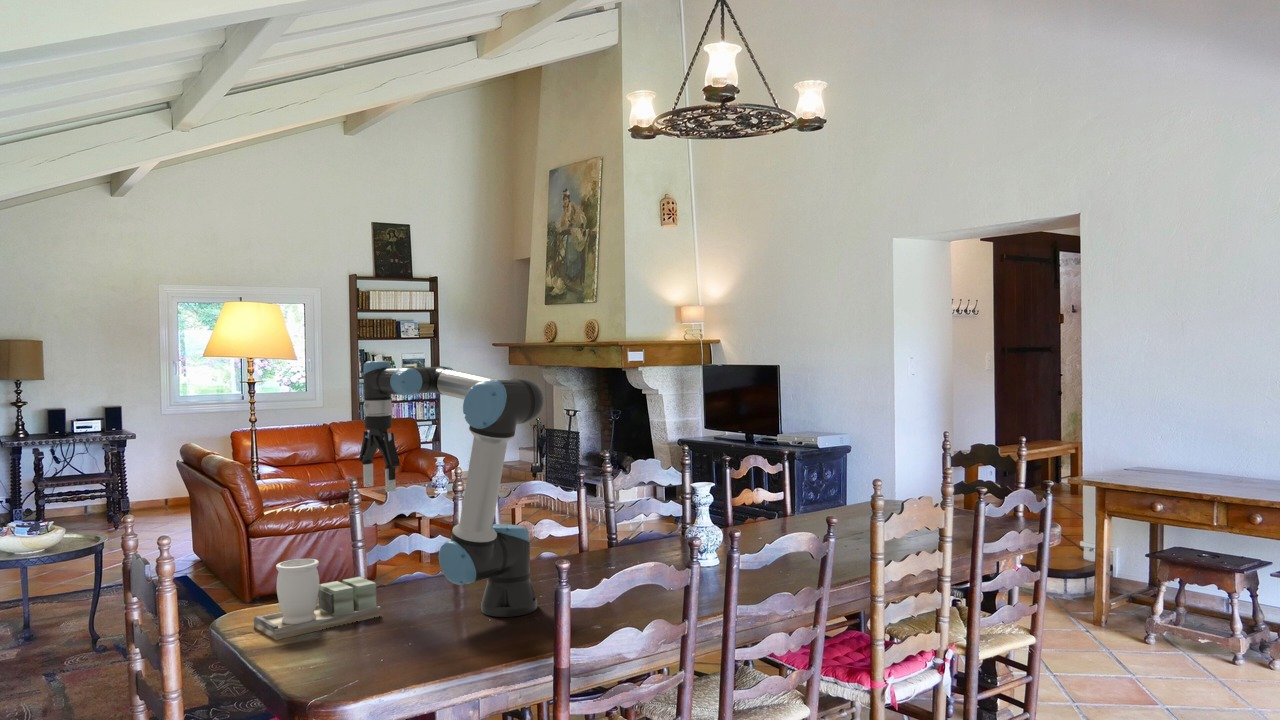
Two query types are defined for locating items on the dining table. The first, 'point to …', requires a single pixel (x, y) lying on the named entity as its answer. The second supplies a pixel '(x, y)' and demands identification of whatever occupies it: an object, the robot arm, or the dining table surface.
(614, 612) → the dining table surface
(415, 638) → the dining table surface
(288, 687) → the dining table surface
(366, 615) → the rail board
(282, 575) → the jar
